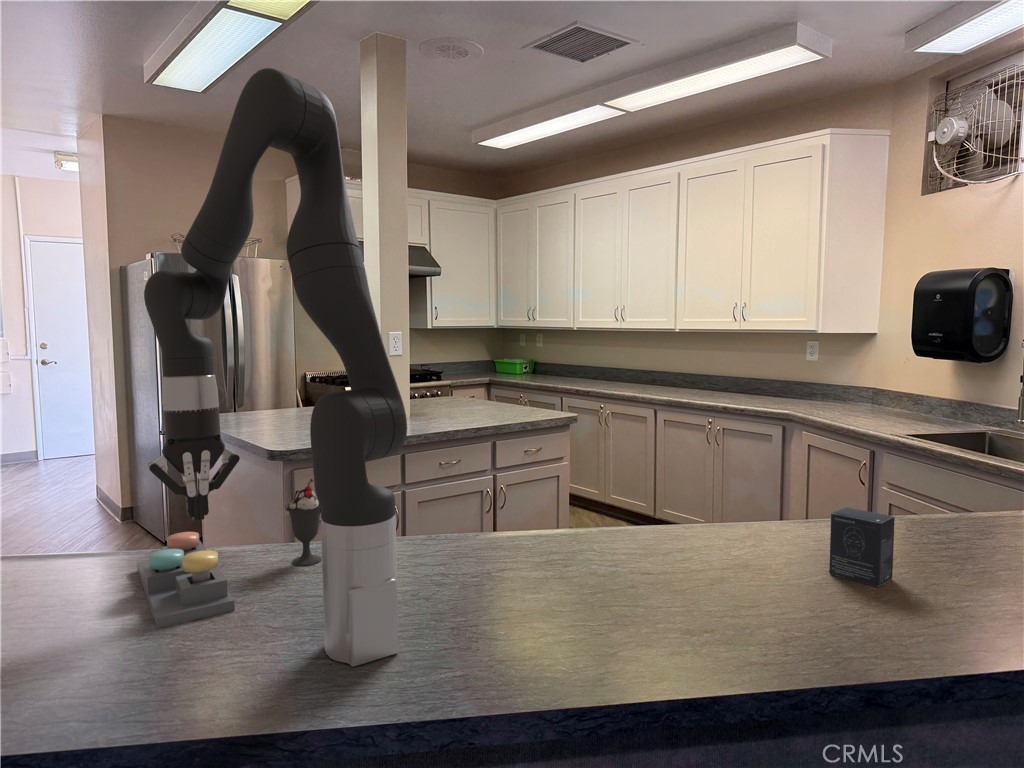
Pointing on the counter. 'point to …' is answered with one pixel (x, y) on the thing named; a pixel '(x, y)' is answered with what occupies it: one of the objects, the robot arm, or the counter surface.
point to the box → (862, 546)
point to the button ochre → (200, 564)
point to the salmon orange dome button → (183, 541)
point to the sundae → (305, 523)
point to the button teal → (166, 559)
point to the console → (184, 593)
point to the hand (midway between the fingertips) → (198, 519)
